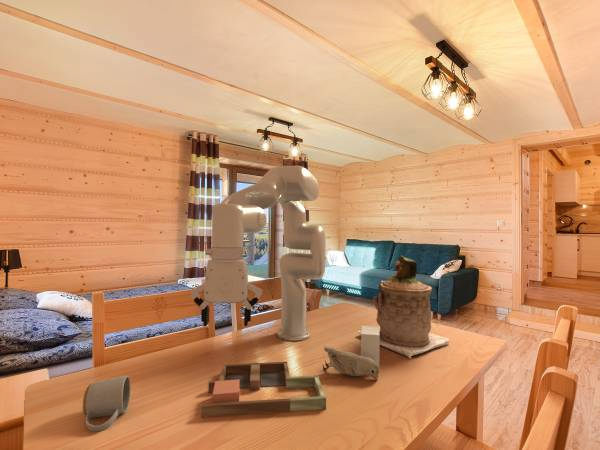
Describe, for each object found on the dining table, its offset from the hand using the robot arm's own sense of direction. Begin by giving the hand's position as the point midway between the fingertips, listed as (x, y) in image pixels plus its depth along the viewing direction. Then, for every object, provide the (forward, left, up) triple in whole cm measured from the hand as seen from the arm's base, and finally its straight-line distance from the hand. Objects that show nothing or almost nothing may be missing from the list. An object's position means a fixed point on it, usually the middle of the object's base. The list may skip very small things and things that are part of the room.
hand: (226, 324), depth 76 cm
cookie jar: (-33, +61, -19) cm, 72 cm away
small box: (-15, +42, -19) cm, 49 cm away
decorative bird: (-9, +34, -19) cm, 40 cm away
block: (+1, 0, -19) cm, 19 cm away
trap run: (-4, +9, -19) cm, 21 cm away
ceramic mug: (+3, -26, -19) cm, 32 cm away
